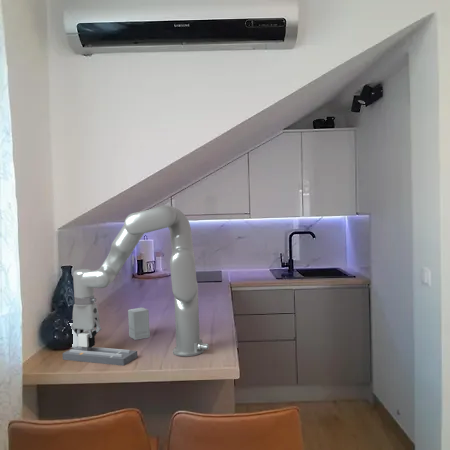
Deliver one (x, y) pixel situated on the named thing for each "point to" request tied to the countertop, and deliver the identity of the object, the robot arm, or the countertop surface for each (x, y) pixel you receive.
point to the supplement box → (138, 323)
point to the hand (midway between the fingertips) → (86, 345)
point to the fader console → (101, 355)
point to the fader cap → (84, 341)
